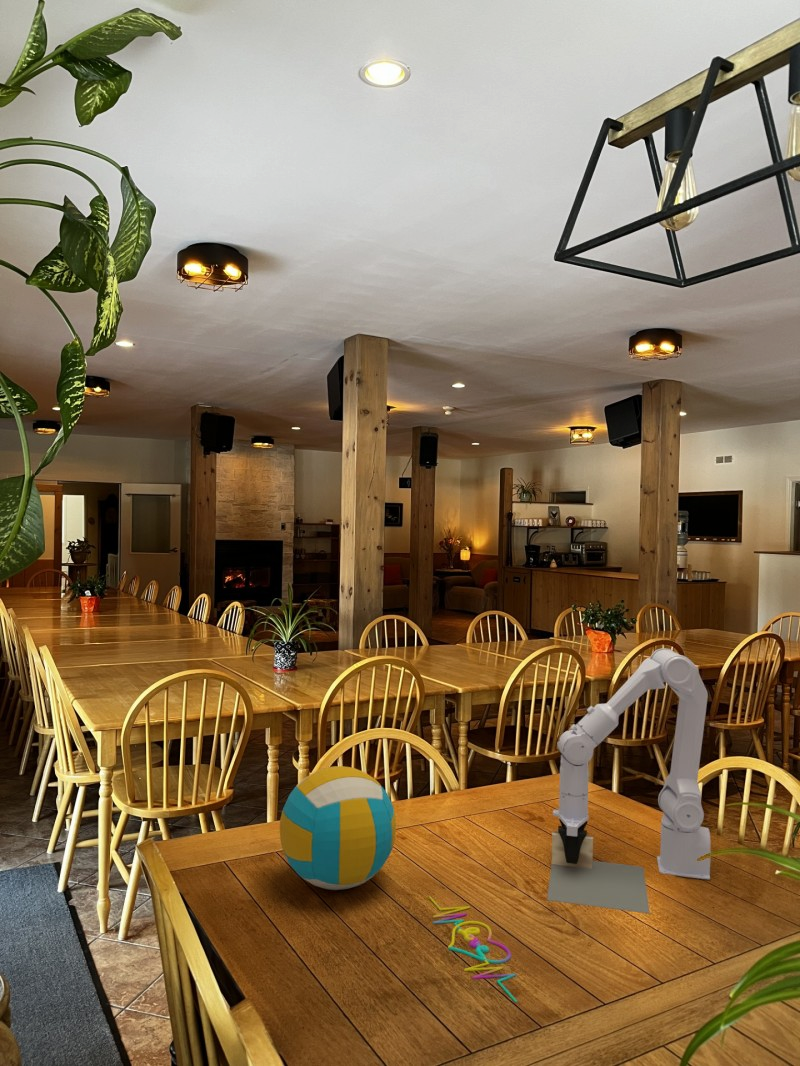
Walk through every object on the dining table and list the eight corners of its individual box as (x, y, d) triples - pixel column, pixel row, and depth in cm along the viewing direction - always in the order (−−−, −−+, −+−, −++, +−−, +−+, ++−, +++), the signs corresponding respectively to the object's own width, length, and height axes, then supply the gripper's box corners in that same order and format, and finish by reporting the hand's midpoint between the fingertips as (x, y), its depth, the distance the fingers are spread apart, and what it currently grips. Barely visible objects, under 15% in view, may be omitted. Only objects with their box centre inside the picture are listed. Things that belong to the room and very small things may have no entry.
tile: (592, 864, 162) (593, 835, 162) (592, 868, 160) (593, 839, 160) (552, 859, 164) (552, 830, 164) (551, 863, 162) (552, 834, 162)
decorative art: (493, 1010, 114) (554, 995, 118) (494, 1004, 114) (554, 990, 118) (406, 903, 145) (455, 894, 149) (406, 898, 145) (456, 890, 149)
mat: (643, 868, 162) (643, 866, 162) (649, 915, 142) (649, 913, 142) (552, 857, 166) (552, 856, 166) (546, 902, 146) (546, 899, 146)
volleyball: (414, 899, 146) (416, 779, 146) (298, 921, 137) (300, 794, 137) (369, 853, 166) (371, 747, 166) (265, 869, 157) (267, 758, 157)
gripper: (555, 778, 170) (553, 842, 170) (551, 801, 156) (550, 870, 156) (589, 781, 168) (587, 846, 168) (589, 805, 154) (587, 875, 154)
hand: (572, 858), depth 162 cm, fingers open, 4 cm apart
